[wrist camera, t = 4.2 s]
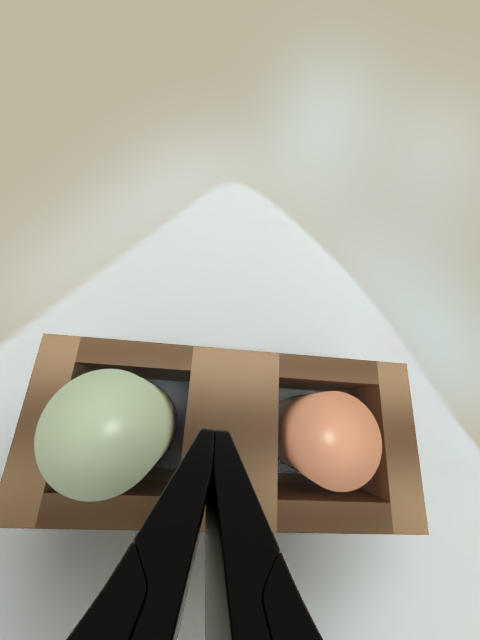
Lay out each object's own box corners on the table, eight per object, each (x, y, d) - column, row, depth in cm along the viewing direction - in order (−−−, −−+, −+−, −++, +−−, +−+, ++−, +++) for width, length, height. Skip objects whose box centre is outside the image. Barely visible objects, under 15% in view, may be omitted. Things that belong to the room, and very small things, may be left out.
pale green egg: (171, 472, 14) (155, 503, 10) (80, 469, 14) (17, 499, 9) (181, 384, 16) (172, 373, 11) (99, 378, 15) (53, 364, 10)
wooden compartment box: (360, 497, 19) (428, 534, 13) (60, 488, 17) (-13, 527, 11) (352, 376, 21) (406, 363, 16) (90, 355, 19) (43, 333, 14)
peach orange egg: (336, 470, 17) (386, 493, 13) (267, 468, 17) (292, 490, 12) (333, 398, 19) (377, 393, 14) (269, 393, 18) (292, 388, 14)
